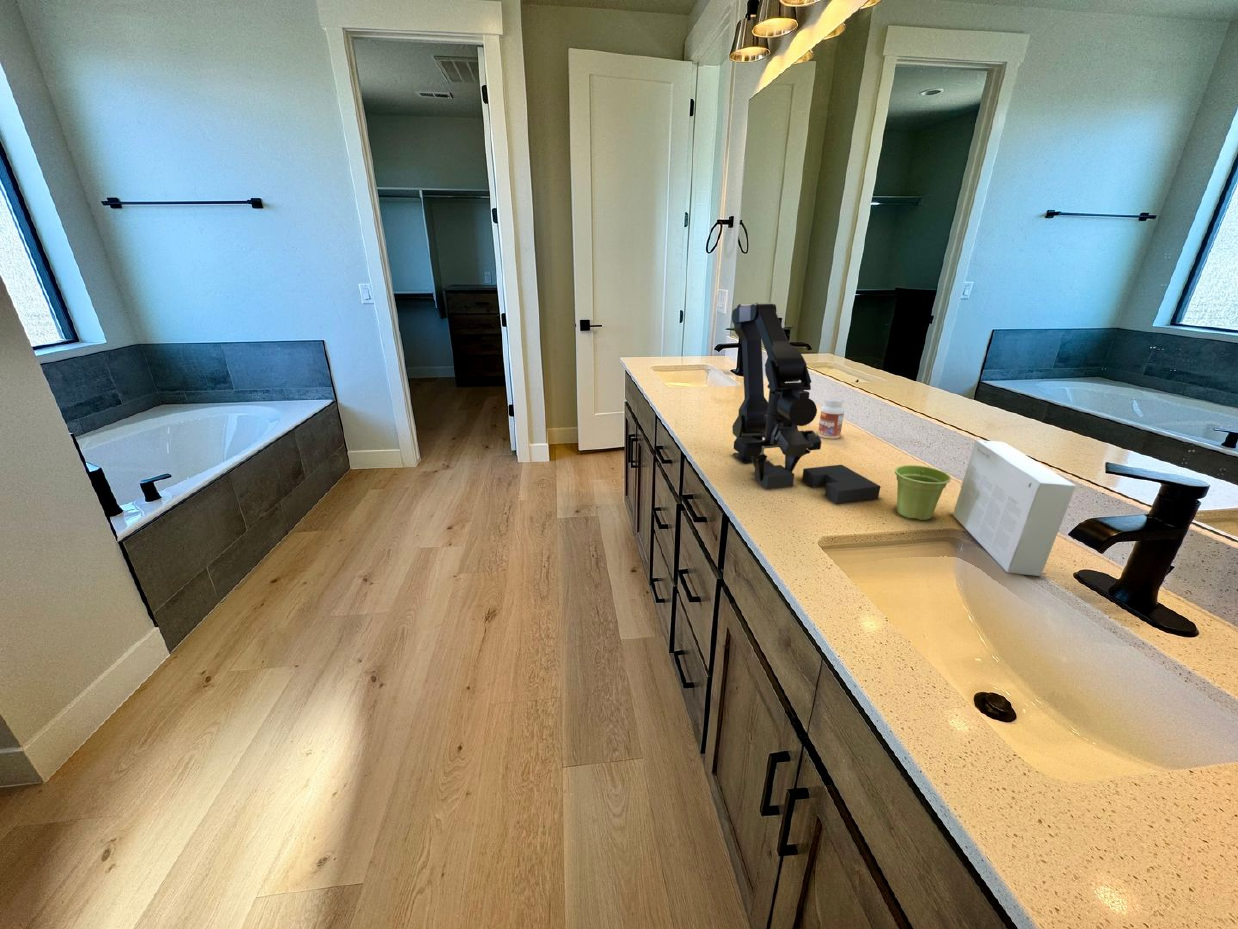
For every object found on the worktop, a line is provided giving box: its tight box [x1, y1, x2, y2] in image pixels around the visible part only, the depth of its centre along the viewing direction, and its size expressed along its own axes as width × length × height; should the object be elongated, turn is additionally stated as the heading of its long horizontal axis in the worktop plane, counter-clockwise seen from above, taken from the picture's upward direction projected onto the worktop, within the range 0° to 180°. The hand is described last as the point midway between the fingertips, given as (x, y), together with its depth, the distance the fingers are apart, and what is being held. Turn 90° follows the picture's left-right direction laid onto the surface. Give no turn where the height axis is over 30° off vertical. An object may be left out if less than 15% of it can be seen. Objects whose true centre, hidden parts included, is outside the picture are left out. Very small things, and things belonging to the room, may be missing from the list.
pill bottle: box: [817, 396, 845, 440], centre depth 142 cm, size 6×6×11 cm
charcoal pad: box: [801, 464, 881, 505], centre depth 109 cm, size 13×10×3 cm
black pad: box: [753, 460, 795, 490], centre depth 114 cm, size 6×9×3 cm
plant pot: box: [894, 464, 952, 521], centre depth 96 cm, size 9×9×9 cm
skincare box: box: [952, 439, 1077, 577], centre depth 84 cm, size 21×5×16 cm, turn 168°
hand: (773, 478), depth 113 cm, fingers closed on black pad, 6 cm apart
